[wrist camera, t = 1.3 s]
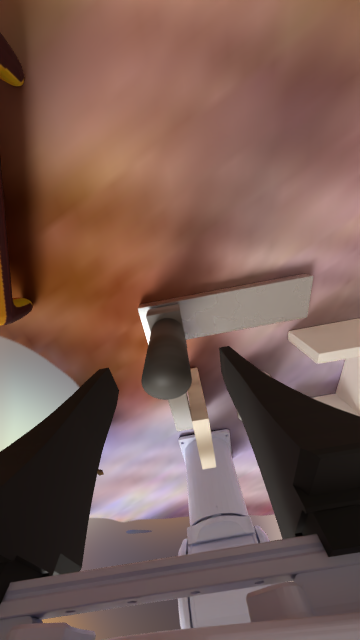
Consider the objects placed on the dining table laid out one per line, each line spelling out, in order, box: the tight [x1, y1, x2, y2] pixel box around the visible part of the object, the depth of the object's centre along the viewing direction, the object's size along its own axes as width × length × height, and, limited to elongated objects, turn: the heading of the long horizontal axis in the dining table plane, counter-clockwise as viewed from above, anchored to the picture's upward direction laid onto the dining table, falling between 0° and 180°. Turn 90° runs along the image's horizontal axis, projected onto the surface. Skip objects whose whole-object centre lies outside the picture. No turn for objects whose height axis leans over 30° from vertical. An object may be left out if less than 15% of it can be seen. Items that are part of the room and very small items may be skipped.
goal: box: [288, 318, 360, 416], centre depth 20 cm, size 13×9×6 cm
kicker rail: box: [138, 274, 313, 344], centre depth 18 cm, size 4×17×1 cm, turn 100°
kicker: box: [142, 304, 216, 469], centre depth 17 cm, size 17×4×9 cm, turn 10°
